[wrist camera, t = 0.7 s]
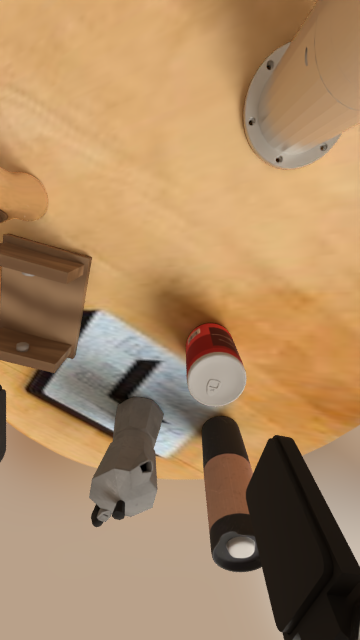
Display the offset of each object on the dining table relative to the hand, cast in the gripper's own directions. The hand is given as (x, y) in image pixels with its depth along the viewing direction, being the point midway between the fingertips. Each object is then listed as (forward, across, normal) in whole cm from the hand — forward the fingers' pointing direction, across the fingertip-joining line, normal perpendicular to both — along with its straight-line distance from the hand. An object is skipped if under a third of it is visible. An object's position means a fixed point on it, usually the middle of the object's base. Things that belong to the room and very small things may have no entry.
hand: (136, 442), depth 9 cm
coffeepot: (+33, 0, +29) cm, 44 cm away
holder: (+33, +18, +9) cm, 38 cm away
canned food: (+33, -9, +10) cm, 36 cm away
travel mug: (+33, -16, +28) cm, 46 cm away
